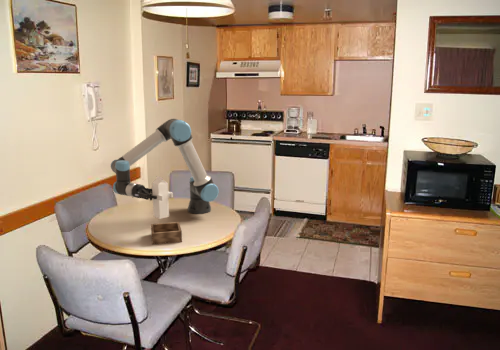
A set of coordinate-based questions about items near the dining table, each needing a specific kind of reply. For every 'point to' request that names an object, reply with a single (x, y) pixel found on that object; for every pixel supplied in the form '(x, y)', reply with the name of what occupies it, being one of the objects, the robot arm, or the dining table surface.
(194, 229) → the dining table surface
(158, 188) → the milk
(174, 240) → the box
